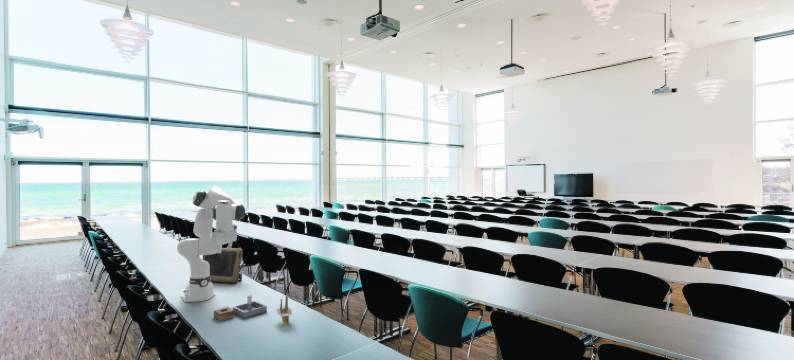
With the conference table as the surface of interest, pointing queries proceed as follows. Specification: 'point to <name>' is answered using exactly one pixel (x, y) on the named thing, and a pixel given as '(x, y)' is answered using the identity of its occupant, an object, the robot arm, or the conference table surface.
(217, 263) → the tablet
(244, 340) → the conference table surface
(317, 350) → the conference table surface
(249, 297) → the pin
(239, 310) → the gray tray
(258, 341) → the conference table surface
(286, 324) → the architectural model
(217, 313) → the block
